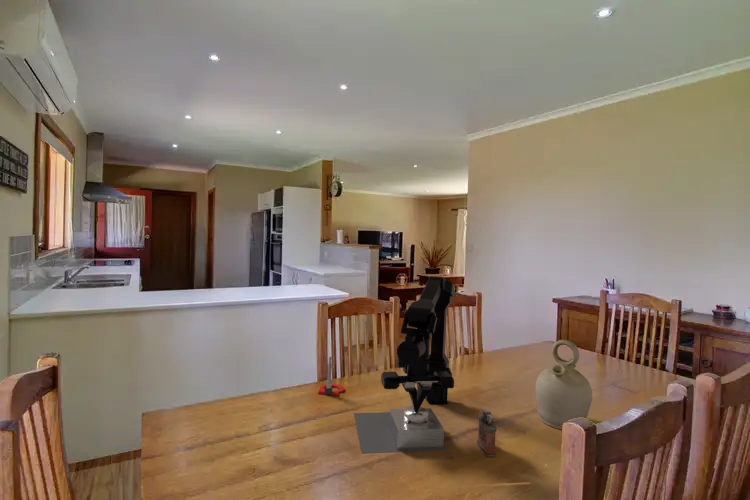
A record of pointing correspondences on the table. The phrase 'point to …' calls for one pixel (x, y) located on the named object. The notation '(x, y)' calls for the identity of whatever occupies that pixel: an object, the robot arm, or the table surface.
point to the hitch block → (415, 431)
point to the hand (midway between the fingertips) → (415, 411)
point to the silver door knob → (415, 415)
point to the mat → (379, 434)
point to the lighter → (486, 433)
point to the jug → (562, 390)
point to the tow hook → (328, 387)
